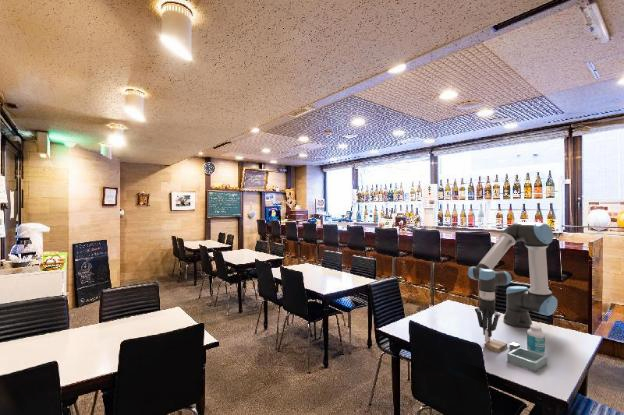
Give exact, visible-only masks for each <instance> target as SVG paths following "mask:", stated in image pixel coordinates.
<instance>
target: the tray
mask: <svg viewBox="0 0 624 415" xmlns="http://www.w3.org/2000/svg"><path fill="white" fill-rule="evenodd" d="M506 354H507V356H506V358H507V359H506V361H507V362H508V363H510V364H512V365H516V366H518V367H521V368H523V369H526V370H528V371H531V372H532V373H533V372H534V373H537V372H539V371H540V370H541V369H543V368H544V367H546V366H547V365H548V356H547V355H542V354H539V353H536V352H533V351H530V350H527V349H526V348H523V347H521V346H520V347H518V348H516V349H514V350H512V351H510V350H509V352H507V353H506Z"/></svg>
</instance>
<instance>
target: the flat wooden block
mask: <svg viewBox="0 0 624 415" xmlns="http://www.w3.org/2000/svg"><path fill="white" fill-rule="evenodd" d="M483 347H484V348H483V349H487V350H489V351H492V352H495V353H500V352H502V351H503V350H505V349H507V348H508V343H507V342H504V341H501V340H497V339H495V338H493V339H490V341H489V342H487V343H486V342H484V343H483Z"/></svg>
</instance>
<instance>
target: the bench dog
mask: <svg viewBox="0 0 624 415" xmlns="http://www.w3.org/2000/svg"><path fill="white" fill-rule="evenodd" d="M518 347H521V344H519V343H517V342H514V341H512V342H511V343H509V352H510V351H512V350H514V349H516V348H518Z"/></svg>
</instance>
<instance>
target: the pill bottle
mask: <svg viewBox="0 0 624 415" xmlns="http://www.w3.org/2000/svg"><path fill="white" fill-rule="evenodd" d="M542 329H543V328H542V326H540V325H536V324H532V325H530V327H529V329H527V332H526V348H527V350H530V351H533V352H536V353H539V354H542V355H545V354H546V334H545V332H544V331H542ZM545 356H546V355H545Z"/></svg>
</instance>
